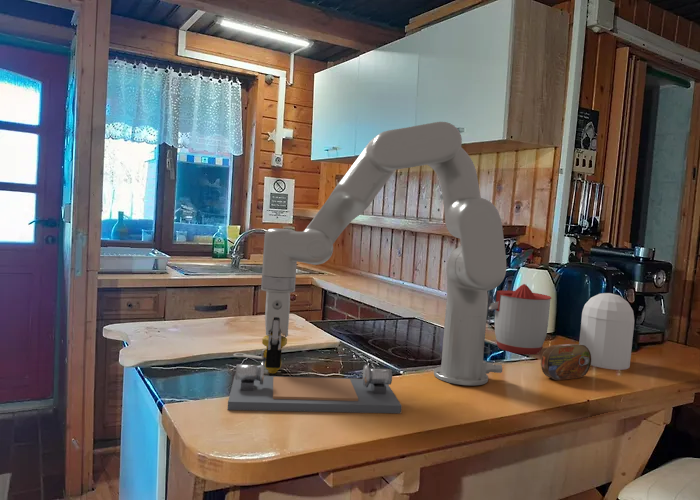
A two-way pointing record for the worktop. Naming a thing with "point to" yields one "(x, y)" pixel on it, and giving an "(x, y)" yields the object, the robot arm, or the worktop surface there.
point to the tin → (566, 361)
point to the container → (608, 331)
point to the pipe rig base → (312, 396)
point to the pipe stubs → (369, 377)
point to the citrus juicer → (521, 320)
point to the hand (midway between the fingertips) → (273, 362)
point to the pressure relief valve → (265, 351)
